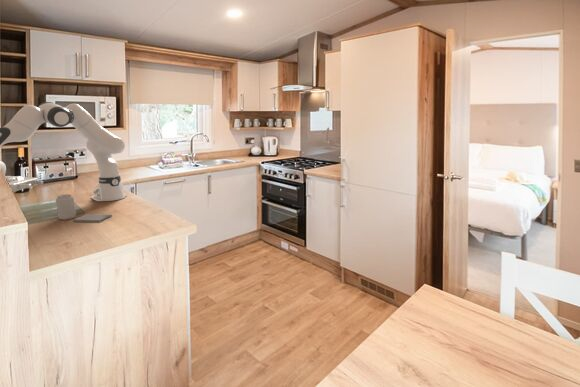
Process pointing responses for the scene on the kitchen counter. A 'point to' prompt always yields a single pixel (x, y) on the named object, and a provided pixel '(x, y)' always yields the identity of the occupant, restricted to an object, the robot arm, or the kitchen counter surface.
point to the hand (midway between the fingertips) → (36, 184)
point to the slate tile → (92, 218)
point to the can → (65, 207)
